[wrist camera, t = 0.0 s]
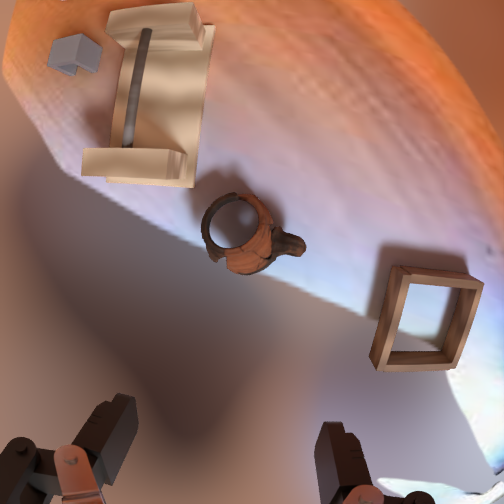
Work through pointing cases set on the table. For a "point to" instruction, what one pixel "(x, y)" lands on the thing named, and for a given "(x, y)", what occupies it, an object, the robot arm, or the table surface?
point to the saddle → (74, 54)
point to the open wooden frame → (393, 311)
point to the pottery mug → (259, 246)
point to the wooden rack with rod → (156, 97)
